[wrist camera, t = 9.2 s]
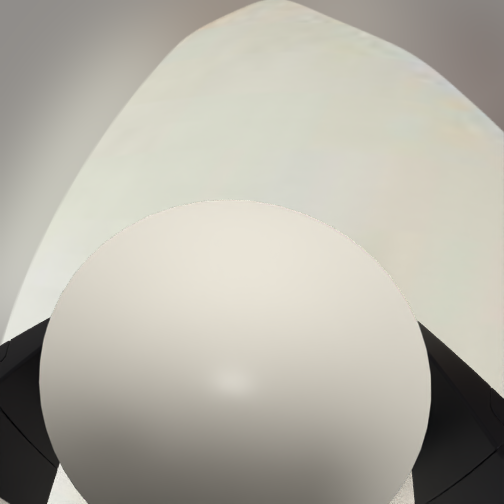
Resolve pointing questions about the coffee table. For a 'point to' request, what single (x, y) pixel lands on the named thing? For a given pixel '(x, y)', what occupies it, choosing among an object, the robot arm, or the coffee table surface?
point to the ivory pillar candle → (234, 364)
